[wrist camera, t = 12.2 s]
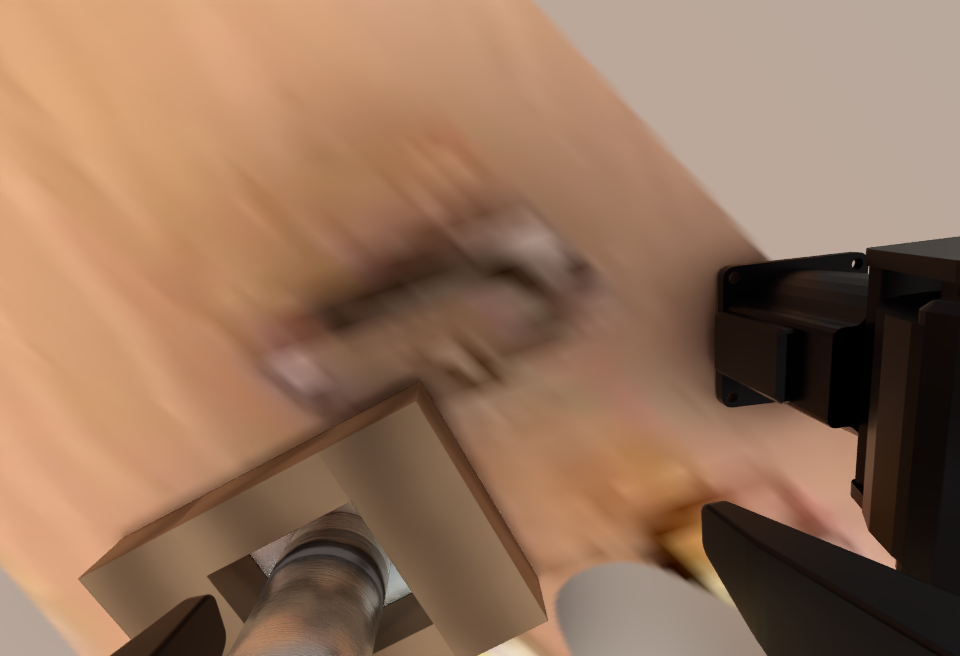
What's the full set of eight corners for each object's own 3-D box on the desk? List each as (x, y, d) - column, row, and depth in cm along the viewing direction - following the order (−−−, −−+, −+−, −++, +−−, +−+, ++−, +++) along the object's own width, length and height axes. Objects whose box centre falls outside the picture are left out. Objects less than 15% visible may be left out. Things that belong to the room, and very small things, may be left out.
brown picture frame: (420, 380, 20) (415, 400, 17) (538, 578, 22) (548, 620, 20) (122, 538, 21) (77, 578, 18) (267, 713, 23) (245, 769, 21)
